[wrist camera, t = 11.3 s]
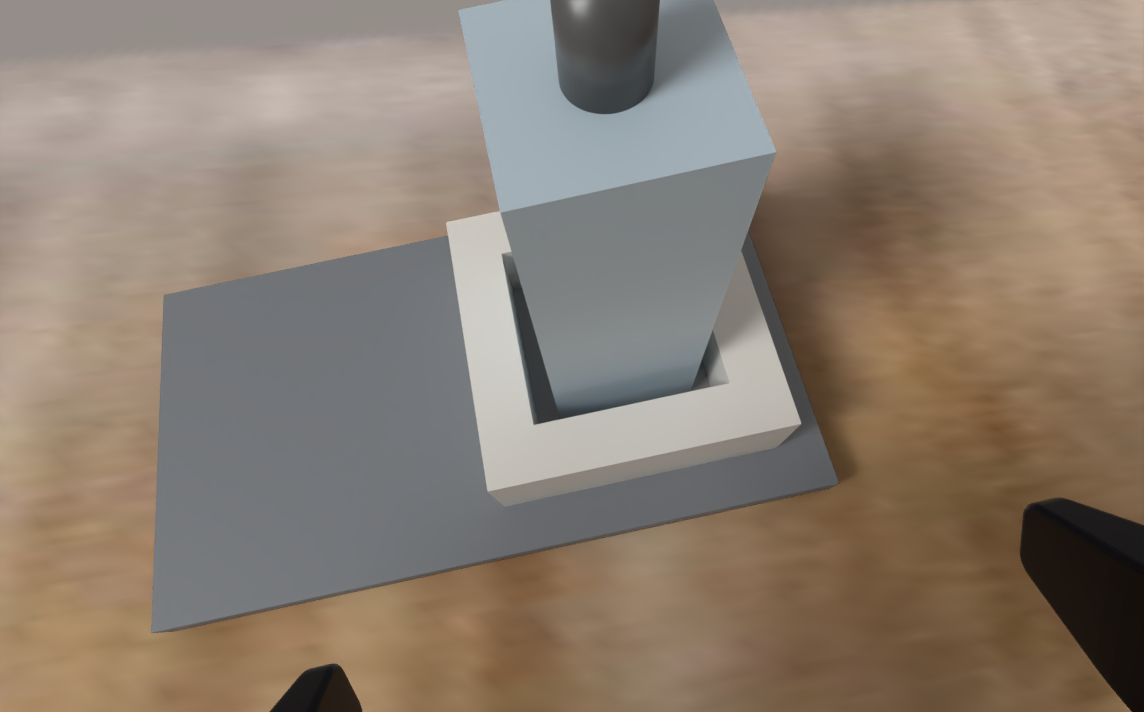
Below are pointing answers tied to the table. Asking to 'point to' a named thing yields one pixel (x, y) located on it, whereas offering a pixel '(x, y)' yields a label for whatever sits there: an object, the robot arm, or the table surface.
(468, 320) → the socket
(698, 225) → the plug
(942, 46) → the table surface
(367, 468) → the board
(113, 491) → the table surface
